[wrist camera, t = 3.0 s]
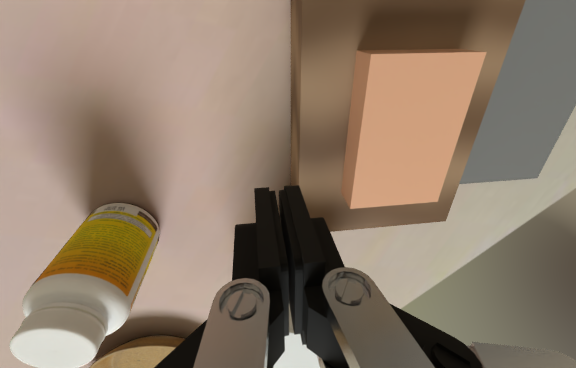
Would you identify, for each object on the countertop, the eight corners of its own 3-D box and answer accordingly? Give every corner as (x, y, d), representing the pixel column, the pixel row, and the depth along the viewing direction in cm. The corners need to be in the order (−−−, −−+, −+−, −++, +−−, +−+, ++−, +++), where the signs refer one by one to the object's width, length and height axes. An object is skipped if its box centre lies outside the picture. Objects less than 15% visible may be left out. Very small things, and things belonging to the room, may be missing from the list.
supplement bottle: (83, 197, 21) (-31, 319, 13) (159, 201, 22) (104, 317, 14) (95, 250, 24) (8, 381, 15) (163, 252, 25) (118, 375, 16)
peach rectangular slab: (356, 50, 15) (371, 54, 13) (460, 48, 15) (486, 51, 14) (341, 192, 19) (350, 208, 18) (421, 186, 20) (437, 201, 18)
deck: (290, -22, 16) (303, -33, 13) (478, -19, 17) (536, -30, 14) (290, 204, 24) (298, 234, 21) (418, 194, 25) (445, 221, 22)
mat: (492, -39, 17) (495, -40, 17) (644, -36, 18) (649, -37, 18) (426, 184, 25) (428, 186, 25) (534, 176, 26) (537, 178, 26)
